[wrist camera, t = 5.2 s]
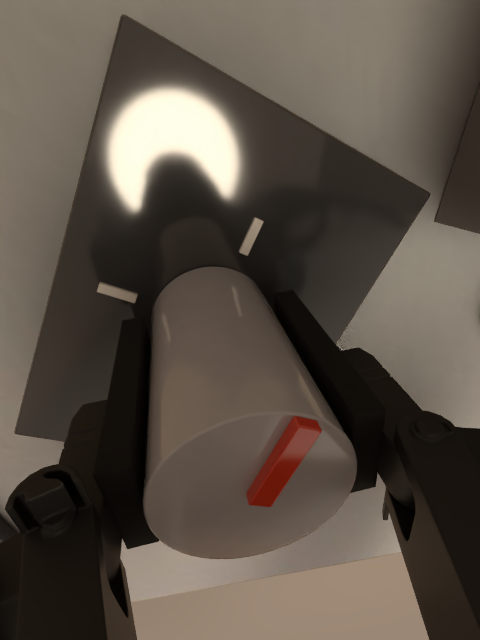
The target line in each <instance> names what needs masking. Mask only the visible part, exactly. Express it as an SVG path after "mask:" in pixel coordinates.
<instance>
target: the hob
mask: <svg viewBox="0 0 480 640" xmlns="http://www.w3.org/2000/svg"><path fill="white" fill-rule="evenodd" d="M429 196H430V193H429V192H428V191H426V190H424V189H422V188H421V187H419V186H417V185H416V184H414V183H412V182H410V181H409V180H407V179H405V178H404V177H402V176H400V175H398V174H397V173H395V172H393V171H392V170H390V169H388V168H386V167H385V166H383V165H381V164H380V163H378V162H376V161H374V160H373V159H371V158H369V157H368V156H366V155H364V154H363V153H361V152H359V151H357V150H356V149H354V148H352V147H351V146H349V145H347V144H345V143H344V142H342V141H340V140H339V139H337V138H335V137H333V136H332V135H330V134H328V133H327V132H325V131H323V130H321V129H320V128H318V127H316V126H315V125H313V124H311V123H309V122H308V121H306V120H304V119H303V118H301V117H299V116H298V115H296V114H294V113H292V112H291V111H289V110H287V109H286V108H284V107H282V106H280V105H279V104H277V103H275V102H274V101H272V100H270V99H268V98H267V97H265V96H263V95H262V94H260V93H258V92H256V91H255V90H253V89H251V88H250V87H248V86H246V85H244V84H243V83H241V82H239V81H238V80H236V79H234V78H232V77H231V76H229V75H227V74H226V73H224V72H222V71H221V70H219V69H217V68H215V67H214V66H212V65H210V64H209V63H207V62H205V61H203V60H202V59H200V58H198V57H197V56H195V55H193V54H191V53H190V52H188V51H186V50H185V49H183V48H181V47H179V46H178V45H176V44H174V43H173V42H171V41H169V40H167V39H166V38H164V37H162V36H161V35H159V34H157V33H156V32H154V31H152V30H150V29H149V28H147V27H145V26H144V25H142V24H140V23H138V22H137V21H135V20H133V19H132V18H130V17H128V16H126V15H123V14H122V16H121V17H120V21H119V25H118V29H117V33H116V37H115V40H114V44H113V48H112V52H111V56H110V60H109V64H108V68H107V72H106V76H105V79H104V83H103V87H102V91H101V95H100V99H99V103H98V107H97V111H96V115H95V119H94V122H93V126H92V130H91V134H90V138H89V142H88V146H87V150H86V154H85V158H84V162H83V165H82V169H81V173H80V177H79V181H78V185H77V189H76V193H75V197H74V201H73V205H72V208H71V212H70V216H69V220H68V224H67V228H66V232H65V236H64V240H63V244H62V248H61V251H60V255H59V259H58V263H57V267H56V271H55V275H54V279H53V283H52V287H51V290H50V294H49V298H48V302H47V306H46V310H45V314H44V318H43V322H42V326H41V330H40V333H39V337H38V341H37V345H36V349H35V353H34V357H33V361H32V365H31V369H30V373H29V376H28V380H27V384H26V388H25V392H24V396H23V400H22V404H21V408H20V412H19V416H18V419H17V423H16V427H15V431H14V432H15V434H18V435H25V436H31V437H37V438H44V439H50V440H56V441H63V442H65V440H66V437H67V436H68V430H69V427H70V423H71V420H72V418H73V417H74V415H75V414H76V413H77V411H78V410H79V409H80V408H81V406H82V405H83V404H88V403H93V402H97V401H102V400H107V398H108V393H109V388H110V382H111V377H112V372H113V367H114V361H115V356H116V351H117V345H118V340H119V335H120V330H121V324H122V320H127V319H132V318H138V317H144V320H145V324H146V327H147V331H148V335H149V338H150V332H151V316H152V311H153V307H154V304H155V302H156V300H157V298H158V296H159V295H160V293H161V292H162V291H163V289H164V288H165V287H166V286H167V285H168V284H169V283H170V282H171V281H173V280H174V279H175V278H177V277H178V276H180V275H182V274H184V273H186V272H188V271H191V270H194V269H198V268H202V267H224V268H229V269H233V270H236V271H238V272H240V273H242V274H244V275H246V276H247V277H249V278H250V279H251V280H252V281H254V282H255V283H256V285H257V286H258V287H259V288H260V290H261V291H262V293H263V294H264V296H265V298H266V299H267V301H268V303H269V304H270V306H271V308H272V309H273V311H274V313H275V310H274V293H278V292H284V291H289V290H293V291H294V292H295V293H296V294H297V296H298V297H299V298H300V300H301V301H302V302H303V303H304V305H305V306H306V307H307V309H308V310H309V311H310V312H311V314H312V315H313V316H314V318H315V319H316V320H317V321H318V323H319V324H320V325H321V326H322V328H323V329H324V330H325V332H326V333H327V334H328V335H329V337H330V338H331V339H332V341H333V342H334V343H335V344H336V343H337V341H338V340H339V338H340V337H341V335H342V333H343V332H344V330H345V329H346V327H347V326H348V324H349V322H350V321H351V319H352V318H353V316H354V315H355V313H356V311H357V310H358V308H359V307H360V305H361V303H362V302H363V300H364V299H365V297H366V296H367V294H368V292H369V291H370V289H371V288H372V286H373V285H374V283H375V281H376V280H377V278H378V277H379V275H380V274H381V272H382V270H383V269H384V267H385V266H386V264H387V263H388V261H389V259H390V258H391V256H392V255H393V253H394V251H395V250H396V248H397V247H398V245H399V244H400V242H401V240H402V239H403V237H404V236H405V234H406V233H407V231H408V229H409V228H410V226H411V225H412V223H413V222H414V220H415V218H416V217H417V215H418V214H419V212H420V210H421V209H422V207H423V206H424V204H425V203H426V201H427V199H428V198H429Z"/></svg>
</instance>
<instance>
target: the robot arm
mask: <svg viewBox="0 0 480 640" xmlns="http://www.w3.org/2000/svg"><path fill="white" fill-rule="evenodd" d="M274 310H275V314H276V316H277V318H278V319H279V321H280V323H281V325H282V326H283V328H284V330H285V331H286V333H287V335H288V336H289V338H290V340H291V341H292V343H293V345H294V346H295V348H296V350H297V351H298V353H299V355H300V357H301V358H302V360H303V362H304V363H305V365H306V367H307V368H308V370H309V372H310V373H311V375H312V377H313V378H314V380H315V382H316V383H317V385H318V387H319V389H320V390H321V392H322V394H323V395H324V397H325V399H326V400H327V402H328V404H329V405H330V407H331V409H332V410H333V412H334V414H335V415H336V417H337V419H338V421H339V422H340V424H341V426H342V427H343V429H344V431H345V432H346V434H347V436H348V437H349V439H350V441H351V442H352V445H353V447H354V449H355V453H356V458H357V473H356V479H355V482H354V485H353V488H352V490H351V492H350V493H352V492H356V491H360V490H364V489H368V488H372V487H376V479H377V472H378V474H379V475H380V477H381V479H382V480H383V482H384V483H385V485H386V492H385V498H384V504H383V510H382V514H383V520H388V515H389V513H390V516H391V519H392V522H393V526H394V529H395V532H396V535H397V538H398V541H399V545H400V548H401V551H402V554H403V557H404V561H405V564H406V567H407V570H408V573H409V576H410V579H411V583H412V586H413V589H414V592H415V595H416V599H417V602H418V605H419V608H420V611H421V615H422V617H423V621H424V624H425V627H426V630H427V634H428V637H429V640H480V429H476V428H460V427H455V426H454V425H453V424H452V423H451V422H450V421H448V420H447V419H445V418H444V417H442V416H440V415H438V414H435V413H432V412H429V411H422V410H421V409H420V407H419V406H418V405H417V404H416V403H415V402H414V401H413V400H412V399H411V397H410V396H409V395H408V394H407V393H406V392H405V391H404V390H403V389H402V387H401V386H400V385H399V384H398V383H397V382H396V381H395V380H394V379H393V378H392V377H390V374H389V373H388V372H387V371H386V370H385V369H384V368H382V365H381V364H380V363H379V362H378V361H377V360H376V359H375V358H374V356H373V355H371V354H369V353H367V352H365V351H364V350H362V349H360V348H354V349H349V350H344V351H340V350H339V348H338V347H337V346H336V344H335V343H334V342H333V341H332V339H331V338H330V337H329V335H328V334H327V333H326V332H325V330H324V329H323V328H322V326H321V325H320V324H319V323H318V321H317V320H316V319H315V318H314V316H313V315H312V314H311V312H310V311H309V310H308V309H307V307H306V306H305V305H304V303H303V302H302V301H301V300H300V298H299V297H298V296H297V294H296V293H295V292H294V291H293V290H289V291H284V292H278V293H274ZM149 353H150V338H149V335H148V331H147V327H146V324H145V320H144V317H138V318H132V319H127V320H122V324H121V330H120V335H119V340H118V345H117V351H116V356H115V361H114V367H113V372H112V377H111V382H110V388H109V393H108V398H107V400H102V401H97V402H93V403H88V404H83V405H82V406H81V408H80V409H79V410H78V411H77V413H76V414H75V415H74V417H73V418H72V420H71V423H70V427H69V430H68V436H67V437H66V440H65V444H64V449H63V450H62V454H61V457H60V461H59V464H56V465H52V466H48V467H45V468H42V469H40V470H39V471H37V472H35V473H33V474H31V475H30V476H28V477H27V478H26V479H25V480H24V481H22V482H21V483H20V484H19V485H18V486H17V487H16V489H15V490H14V491H13V493H12V494H11V495H10V497H9V499H8V502H7V505H6V508H5V510H6V512H7V513H8V515H9V516H10V517H11V519H12V520H13V522H14V523H15V524H16V526H17V527H18V529H19V530H20V532H19V533H17V534H15V535H14V536H12V537H10V538H9V539H7V540H5V541H3V542H1V543H0V640H137V637H136V631H135V625H134V619H133V613H132V607H131V601H130V595H129V589H128V583H127V578H126V572H125V568H124V566H123V563H122V561H121V559H120V554H121V543H122V538H123V541H124V543H125V545H126V547H127V549H130V548H134V547H138V546H142V545H146V544H150V543H154V542H158V541H159V539H158V538H157V537H156V536H155V535H154V533H153V532H152V531H151V530H150V528H149V526H148V524H147V522H146V519H145V516H144V512H143V483H144V461H145V439H146V418H147V396H148V375H149Z"/></svg>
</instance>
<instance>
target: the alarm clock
mask: <svg viewBox="0 0 480 640" xmlns="http://www.w3.org/2000/svg"><path fill="white" fill-rule="evenodd" d="M435 222H438V223H442V224H445V225H449V226H453V227H457V228H460V229H464V230H468V231H472V232H475V233H479V234H480V85H479V88H478V91H477V94H476V97H475V100H474V103H473V106H472V109H471V112H470V115H469V118H468V121H467V124H466V127H465V130H464V134H463V137H462V140H461V143H460V146H459V149H458V152H457V155H456V158H455V161H454V164H453V167H452V170H451V173H450V176H449V179H448V183H447V186H446V189H445V192H444V195H443V198H442V201H441V204H440V207H439V210H438V213H437V216H436V219H435Z"/></svg>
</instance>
